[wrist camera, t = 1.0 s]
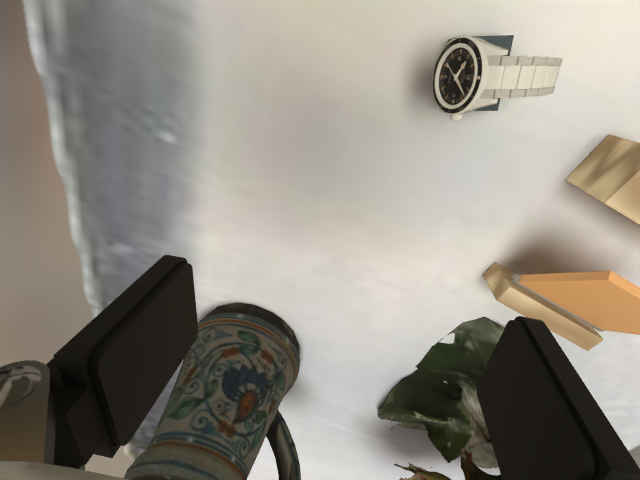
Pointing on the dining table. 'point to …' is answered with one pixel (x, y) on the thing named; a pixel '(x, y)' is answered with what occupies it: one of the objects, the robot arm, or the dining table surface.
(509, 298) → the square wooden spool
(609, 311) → the flap
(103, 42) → the dining table surface
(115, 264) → the dining table surface
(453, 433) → the rose bouquet
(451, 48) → the watch
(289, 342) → the beer stein
